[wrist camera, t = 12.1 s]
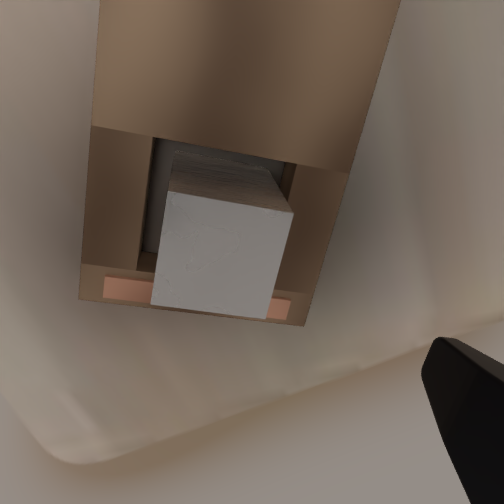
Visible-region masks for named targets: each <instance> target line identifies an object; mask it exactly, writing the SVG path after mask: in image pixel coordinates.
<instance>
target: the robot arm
mask: <svg viewBox="0 0 504 504" xmlns="http://www.w3.org/2000/svg"><path fill="white" fill-rule="evenodd" d="M421 376H422V381H423V384H424V387H425V390H426V393H427V396H428V399H429V402H430V405H431V408H432V411H433V414H434V416H435V420H436V422H437V425H438V428H439V431H440V434H441V437H442V440H443V442H444V445H445V447H446V449H447V452H448V454H449V456H450V458H451V461H452V463H453V465H454V468H455V470H456V472H457V474H458V476H459V479H460V481H461V483H462V485H463V488H464V490H465V492H466V494H467V496H468V499H469V501H470V503H471V504H504V364H502V363H500V362H498V361H496V360H494V359H493V358H491V357H489V356H487V355H485V354H483V353H482V352H480V351H478V350H476V349H474V348H472V347H471V346H469V345H467V344H465V343H463V342H461V341H459V340H457V339H454V338H447V337H438V338H436V339H435V340H434V341H433V343H432V345H431V347H430V350H429V352H428V354H427V357H426V359H425V361H424V364H423V366H422V371H421Z"/></svg>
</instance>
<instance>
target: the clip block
mask: <svg viewBox="0 0 504 504" xmlns="http://www.w3.org/2000/svg"><path fill="white" fill-rule="evenodd" d="M293 215H294V213H293V211H292V209H291V208H290V206H289V204H288V203H287V201H286V199H285V197H284V196H283V194H282V192H281V191H280V189H279V187H278V186H277V184H276V182H275V180H274V179H273V177H272V175H271V174H270V172H269V170H268V169H267V168H264V167H259V166H254V165H249V164H244V163H239V162H233V161H228V160H223V159H218V158H213V157H208V156H203V155H198V154H192V153H187V152H182V151H177V150H175V156H174V161H173V166H172V172H171V177H170V182H169V187H168V193H167V200H166V206H165V213H164V219H163V225H162V232H161V238H160V245H159V251H158V258H157V264H156V271H155V277H154V284H153V290H152V297H151V303H150V304H151V305H158V306H166V307H174V308H181V309H189V310H197V311H204V312H212V313H220V314H227V315H235V316H243V317H250V318H258V319H266V315H267V312H268V308H269V304H270V300H271V297H272V293H273V289H274V286H275V282H276V278H277V274H278V271H279V267H280V263H281V260H282V256H283V252H284V248H285V245H286V241H287V237H288V233H289V230H290V226H291V222H292V219H293Z"/></svg>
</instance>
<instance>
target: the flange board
mask: <svg viewBox="0 0 504 504" xmlns="http://www.w3.org/2000/svg"><path fill="white" fill-rule="evenodd" d="M400 1H401V0H100V9H99V23H98V37H97V51H96V64H95V78H94V92H93V106H92V120H91V133H90V147H89V161H88V175H87V188H86V202H85V216H84V230H83V244H82V257H81V271H80V285H79V300H88V301H96V302H104V303H113V304H121V305H129V306H138V307H146V308H154V309H162V310H171V311H179V312H187V313H196V314H204V315H212V316H221V317H229V318H237V319H246V320H254V321H262V322H271V323H279V324H287V325H296V326H304V325H305V322H306V318H307V315H308V311H309V308H310V305H311V301H312V298H313V295H314V291H315V288H316V284H317V281H318V278H319V274H320V271H321V268H322V264H323V261H324V258H325V254H326V251H327V247H328V244H329V241H330V237H331V234H332V231H333V227H334V224H335V220H336V217H337V214H338V210H339V207H340V204H341V200H342V197H343V193H344V190H345V187H346V183H347V180H348V177H349V173H350V170H351V167H352V163H353V160H354V156H355V153H356V150H357V146H358V143H359V140H360V136H361V133H362V129H363V126H364V123H365V119H366V116H367V113H368V109H369V106H370V102H371V99H372V96H373V92H374V89H375V86H376V82H377V79H378V75H379V72H380V69H381V65H382V62H383V59H384V55H385V52H386V49H387V45H388V42H389V38H390V35H391V32H392V28H393V25H394V22H395V18H396V15H397V11H398V8H399V5H400ZM156 137H157V138H162V139H168V140H173V141H178V142H184V143H189V144H194V145H199V146H205V147H210V148H215V149H221V150H226V151H231V152H237V153H242V154H247V155H252V156H258V157H263V158H268V159H274V160H279V161H284V162H286V163H285V167H284V171H283V175H282V179H281V183H280V188H279V189H280V191H281V192H282V194H283V196H284V197H285V199H286V201H287V203H288V204H289V206H290V208H291V209H292V211H293V213H294V215H293V219H292V222H291V226H290V230H289V233H288V237H287V241H286V245H285V248H284V252H283V256H282V260H281V263H280V267H279V271H278V274H277V278H276V282H275V286H274V289H273V293H272V297H271V300H270V304H269V308H268V312H267V315H266V319H258V318H250V317H243V316H235V315H227V314H220V313H212V312H204V311H197V310H189V309H181V308H174V307H166V306H158V305H151V304H150V303H151V297H152V290H153V284H154V277H155V271H156V264H157V258H158V254H157V253H150V252H143V251H141V249H142V241H143V233H144V225H145V217H146V210H147V202H148V194H149V186H150V178H151V170H152V162H153V154H154V146H155V139H156Z"/></svg>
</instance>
